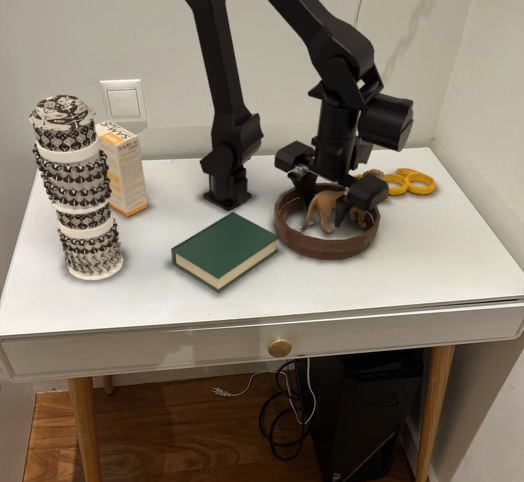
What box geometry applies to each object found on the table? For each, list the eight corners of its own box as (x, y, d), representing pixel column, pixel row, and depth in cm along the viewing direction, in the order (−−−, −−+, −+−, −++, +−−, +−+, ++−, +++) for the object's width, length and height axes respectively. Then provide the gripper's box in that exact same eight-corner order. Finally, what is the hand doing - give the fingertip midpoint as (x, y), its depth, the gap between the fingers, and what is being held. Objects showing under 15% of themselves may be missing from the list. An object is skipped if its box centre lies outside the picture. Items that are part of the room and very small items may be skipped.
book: (172, 264, 89) (170, 248, 87) (232, 226, 96) (232, 211, 94) (218, 293, 84) (218, 277, 82) (278, 251, 92) (279, 236, 90)
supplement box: (149, 206, 99) (140, 135, 90) (127, 217, 97) (115, 145, 87) (120, 188, 103) (109, 118, 94) (98, 198, 101) (84, 127, 91)
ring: (252, 231, 95) (253, 211, 92) (314, 191, 105) (317, 172, 102) (336, 276, 88) (339, 256, 85) (394, 229, 97) (399, 209, 94)
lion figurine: (371, 207, 100) (377, 160, 94) (385, 223, 97) (393, 176, 90) (294, 225, 97) (295, 178, 90) (306, 242, 94) (309, 195, 87)
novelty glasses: (442, 201, 104) (426, 173, 111) (444, 194, 103) (428, 166, 110) (353, 203, 103) (343, 175, 109) (355, 196, 101) (344, 167, 108)
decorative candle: (55, 258, 89) (8, 98, 70) (108, 238, 93) (77, 82, 74) (80, 289, 84) (37, 127, 66) (136, 267, 88) (110, 108, 70)
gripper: (418, 135, 84) (395, 223, 96) (319, 94, 92) (308, 180, 103) (378, 162, 78) (358, 252, 90) (275, 116, 86) (269, 204, 97)
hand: (323, 219), depth 95 cm, fingers closed on lion figurine, 6 cm apart
